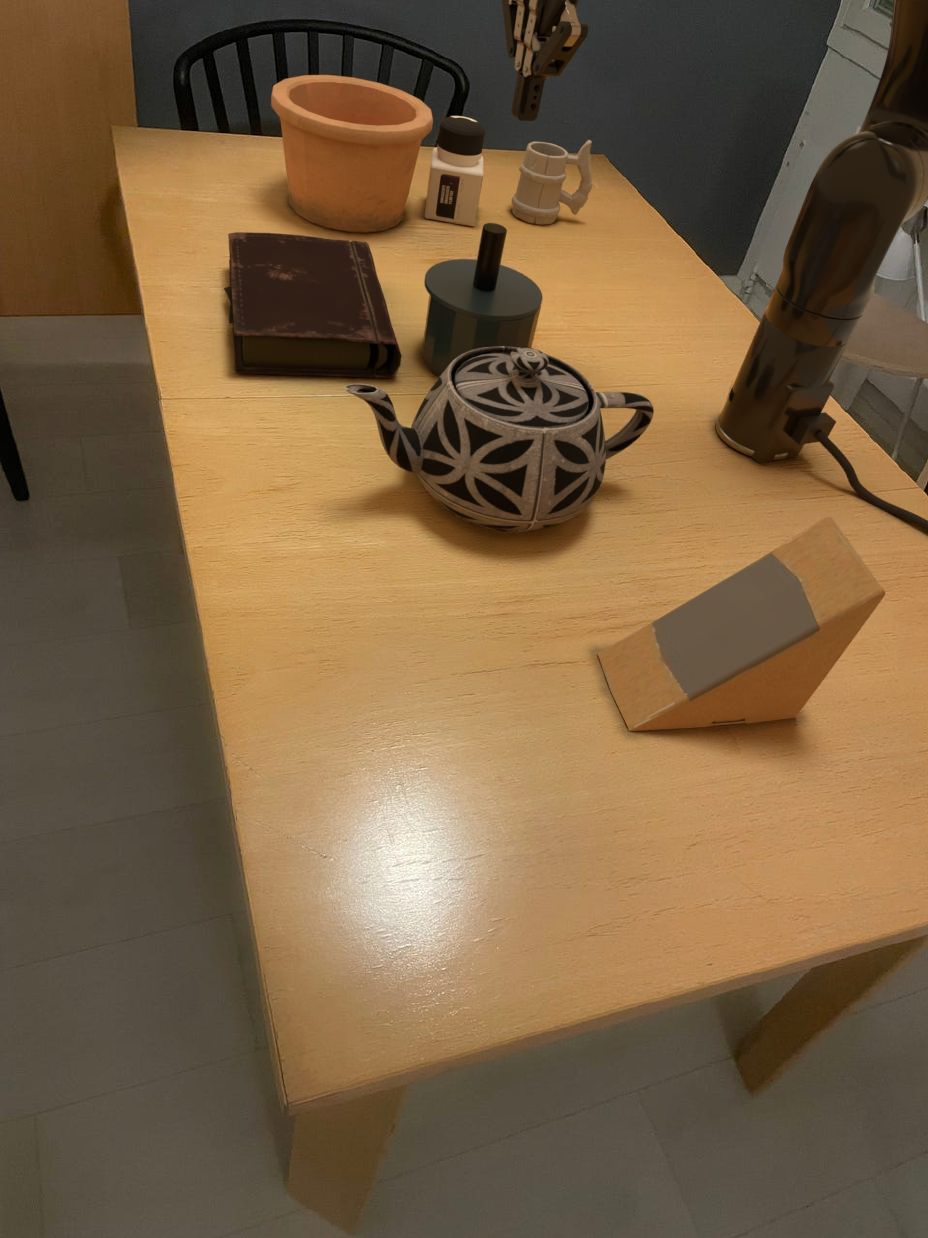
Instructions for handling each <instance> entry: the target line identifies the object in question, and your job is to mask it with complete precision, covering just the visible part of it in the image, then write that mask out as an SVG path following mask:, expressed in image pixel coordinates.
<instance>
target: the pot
mask: <svg viewBox="0 0 928 1238" xmlns="http://www.w3.org/2000/svg"><path fill="white" fill-rule="evenodd" d="M541 308H542V306H541V307H540V308H539V310H538V311H537V312H536V313H534V314H533V315H531V316H529V317H526V318H523V319H518V320H510V321H494V320H485V319H479V318H475V317H470V316H467V315H464V314H461V313H458V312H455V311H453V310H451V309H449V308H447V307H445V306H443V305H442V304H440V303H439V302H437V301H436V300H435V299H434V298H432V296H431V295H430V294H429V296H428V304H427V311H426V317H425V325H424V331H423V333H424V334H423V339H422V352H421V357H422V361H423V363H424V365H425V366H426V367H427V369H428V370H429V371H430V372H432V374H434V375H435V376H437V377H438V378H439V377H440V376H441V374H442V373H443V372H444V371H445V369H446V368H447V367H448V366H449V364H450V363H451V362H452V361H453V360H454V359H455V358H457V357H458V356H460V355H462V354H464V353H466V352H468V351H471V350H474V349H478V348H484V347H493V346H507V347H518V348H519V347H529V348H533V342H534V339H535V333H536V330H537V325H538V321H539V317H540V312H541Z"/></svg>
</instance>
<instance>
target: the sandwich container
mask: <svg viewBox="0 0 928 1238" xmlns="http://www.w3.org/2000/svg"><path fill="white" fill-rule="evenodd" d="M885 596H886V591H885V590H884V588H883V587H882V585H881V584H880V582H879V581H878V580H877V578H876V577H875V575H874V574H873V573H872V571H871V570H870V569H869V567H868V565H867V564H866V562H865V561H864V560H863V559H862V557H861V556H860V554H859V553H858V552H857V550H856V549H855V547H854V546H853V545H852V543H851V542H850V540H849V539H848V537H847V536H846V535H845V533H844V532H843V530H842V529H841V528H840V526H839V525H838V523H837V522H836V521H835V519H834V518H833V516H832V515H827V516H825V517H823V518H821V519H820V520H819V521H817V522H815V523H814V524H812V525H810V526H809V527H807V528H806V529H804V530H803V531H801V532H800V533H798V534H796V535H795V536H794V537H792V538H791V539H789V540H787V541H786V542H784V543H783V544H781V545H780V546H778V547H776V548H775V549H773V550H771V551H770V552H769V553H767V554H765V555H763V556H762V557H760V558H758V559H757V560H755V561H754V562H752V563H750V564H749V565H747V566H745V567H743V568H742V569H741V570H739V571H737V572H735V573H734V574H731V575H730V576H728V577H726V578H725V579H723V580H721V581H719V582H717V584H715V585H713V586H711V587H710V588H708V589H706V590H704V591H702V592H701V593H699V594H698V595H696V596H695V597H693V598H691V599H690V600H688V601H685V602H684V603H683V604H681V605H679V606H677V607H676V608H674V609H673V610H671V611H669V612H667V613H665V614H663V615H662V616H661V617H659V618H658V619H656V620H654V621H652V622H650V623H649V624H646V626H643V627H642V628H640V629H638V630H636V631H634V632H633V633H631V634H630V635H628V636H626V637H624V638H622V639H620V640H619V641H617V642H615V643H614V644H612V645H609V646H608V647H606V648H605V649H603V650H601V651H599V652H597V657H598V660H599V662H600V665H601V668H602V671H603V673H604V676H605V679H606V682H607V684H608V687H609V690H610V693H611V694H612V697H613V699H614V701H615V703H616V705H617V707H618V710H619V711H620V714H621V716H622V718H623V720H624V722H625V724H626V726H627V728H628V731H629V732H634V731H635V732H638V731H639V732H641V731H652V730H653V731H655V730H656V731H657V730H675V729H692V728H708V727H715V726H726V725H739V724H754V723H755V724H756V723H763V722H770V721H771V722H772V721H778V720H779V721H780V720H788V719H795V718H796V717H797V716H798V714H799V713H800V712H801V711H802V709H804V707H805V706H806V704H807V703H808V701H809V700H810V699H811V698H812V696H813V695H814V694H815V692H816V691H817V690H818V688H819V687H820V686H821V684H822V683H823V681H824V680H825V678H826V677H827V676H828V675H829V673H830V672H831V671H832V669H833V668H834V666H835V665H836V663H837V662H838V661H839V659H840V658H841V656H842V655H843V654H844V652H845V651H846V650H847V649H848V647H849V645H850V644H851V643H852V642H853V640H854V639H855V638H856V636H857V635H858V633H859V632H860V631H861V629H862V628H863V627H864V625H866V624H865V623H866V622H867V621H868V619H869V618H870V617H871V616H872V614H873V613H874V611H875V610H876V609H877V607H878V606H879V605H880V603H881V602H882V600H883V599H884V597H885Z"/></svg>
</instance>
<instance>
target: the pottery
mask: <svg viewBox="0 0 928 1238" xmlns="http://www.w3.org/2000/svg"><path fill="white" fill-rule="evenodd" d="M270 97H271V98H270V106H271V108H272V109H273V111H274V112H275V113H276V114H277V116H278V118H280V128H281V136H282V146H283V155H284V165H285V171H286V172H285V174H286V181H287V190H288V191H287V192H288V198H289V202H288V203H289V205H290V206H291V208H292V209H293V211H294V212H295V214H297V215H298V216H300V217H302V218H303V219H304V220H306V221H307V222H310V223H312V224H315V225H317V226H320V227H323V228H326V229H330V230H334V231H335V230H336V231H340V232H345V233H360V234H370V233H377V232H384V231H387V230H389V229H391V228H393V227H394V228H395V227H396V226H398V225H399V224H400V222H401V221H402V220H403V219H404V214H405V209H406V205H407V201H408V197H409V194H410V189H411V185H412V181H413V177H414V173H415V169H416V165H417V161H418V156H419V152H420V150H421V149H420V148H421V145H422V141H423V139H424V138H426V137H427V136H428V135H429V134H430V133H431V132H432V130H433V123H434V118H433V113H432V108H430V107H429V106H428V105H427V104H425V103H424V102H423V100H421V99H420V98H418V97H416V96H414V95H411V94H410V93H408V92H406V91H404V90H402V89H399V88H396V87H393V86H389V85H387V84H383V83H380V82H376V81H372V80H367V79H362V78H357V77H353V76H352V77H351V76H342V75H334V74H333V75H331V74H307V75H306V74H305V75H300V76H294V77H289V78H284V79H282V80H281V81H279V82H277V83H275V84H274V85H273V87H272V91H271V96H270Z"/></svg>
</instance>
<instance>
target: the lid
mask: <svg viewBox="0 0 928 1238" xmlns="http://www.w3.org/2000/svg"><path fill="white" fill-rule="evenodd" d="M507 231H508V230H507V228H506V227H505V226H503V225H502V224H499V223H496V222H486V223H484V224H483V226H482V230H481V235H480V241H479V247H478V252H477V258H476V259H473V258H472V259H471V258H457V259H456V258H455V259H448V260H443V261H441V262H438V263H435V264H433V265H432V266H431V267H429V268H428V269H427V271H426V272H425V275H424V281H423V283H424V287H425V290H426V292H427V293H428V294H429V296H430V295H431V296H432V298H434V299H435V300H436V301H437V302H439V303H440V304H442V305H443V306H445V307H447V308H449V309H451V310H453V311H455V312H458V313H461V314H464V315H467V316H470V317H475V318H479V319H485V320H494V321H510V320H518V319H523V318H526V317H529V316H531V315H533V314H534V313H536V312H537V311H538V310H539V308H540V307H541V308H542V303H543V300H544V299H543V293H542V289H541V288H540V287H539V286H538V284H537V283H536V282H535V281H534V280H533V279H532V278H530V277H528V276H527V275H525V274H523V273H522V272H520V271H518V270H515V269H514V268H512V267H510V266H507V265H503V264H501V263H502V257H503V253H504V248H505V242H506V237H507Z"/></svg>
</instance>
